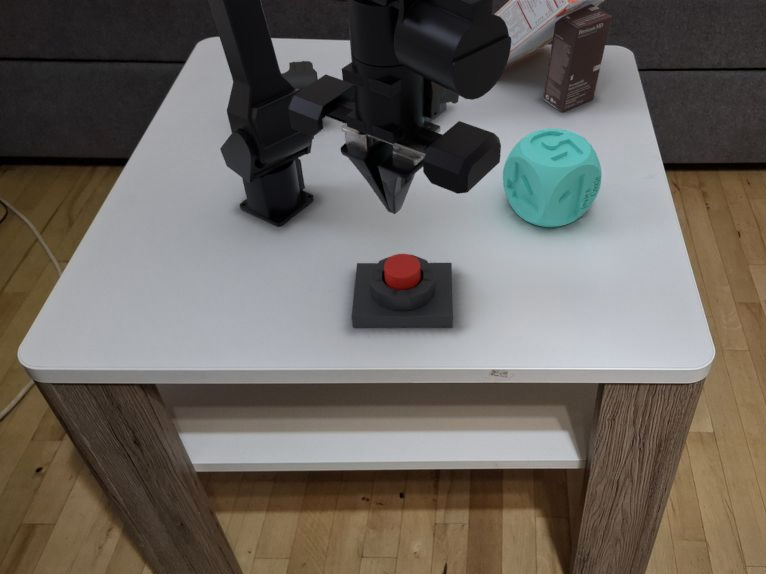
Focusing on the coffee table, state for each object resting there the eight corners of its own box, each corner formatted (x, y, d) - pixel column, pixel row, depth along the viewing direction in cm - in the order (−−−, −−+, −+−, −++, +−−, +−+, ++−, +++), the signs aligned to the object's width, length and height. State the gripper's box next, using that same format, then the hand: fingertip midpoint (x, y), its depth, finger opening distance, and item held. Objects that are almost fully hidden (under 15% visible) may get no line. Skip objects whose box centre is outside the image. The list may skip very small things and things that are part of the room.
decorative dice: (542, 237, 84) (550, 177, 78) (499, 201, 89) (504, 141, 83) (596, 212, 87) (608, 152, 81) (552, 178, 92) (560, 120, 86)
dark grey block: (248, 136, 100) (238, 89, 94) (248, 108, 104) (239, 62, 99) (323, 129, 100) (317, 82, 95) (320, 102, 105) (315, 55, 100)
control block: (352, 328, 75) (349, 303, 73) (358, 274, 81) (355, 249, 78) (452, 328, 75) (453, 303, 72) (451, 274, 80) (451, 249, 78)
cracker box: (525, 11, 113) (623, -71, 95) (543, 48, 114) (644, -26, 96) (459, 41, 107) (550, -41, 89) (479, 80, 108) (573, 7, 90)
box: (563, 114, 101) (577, 27, 92) (541, 99, 104) (553, 13, 95) (596, 101, 104) (613, 14, 95) (574, 86, 106) (589, 1, 97)
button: (384, 290, 74) (383, 277, 73) (385, 266, 77) (384, 253, 76) (420, 290, 74) (420, 277, 73) (420, 266, 77) (420, 253, 75)
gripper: (542, 39, 59) (524, 200, 71) (356, -14, 67) (367, 140, 78) (467, 100, 53) (461, 266, 65) (271, 35, 61) (297, 194, 72)
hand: (394, 210), depth 70 cm, fingers closed
